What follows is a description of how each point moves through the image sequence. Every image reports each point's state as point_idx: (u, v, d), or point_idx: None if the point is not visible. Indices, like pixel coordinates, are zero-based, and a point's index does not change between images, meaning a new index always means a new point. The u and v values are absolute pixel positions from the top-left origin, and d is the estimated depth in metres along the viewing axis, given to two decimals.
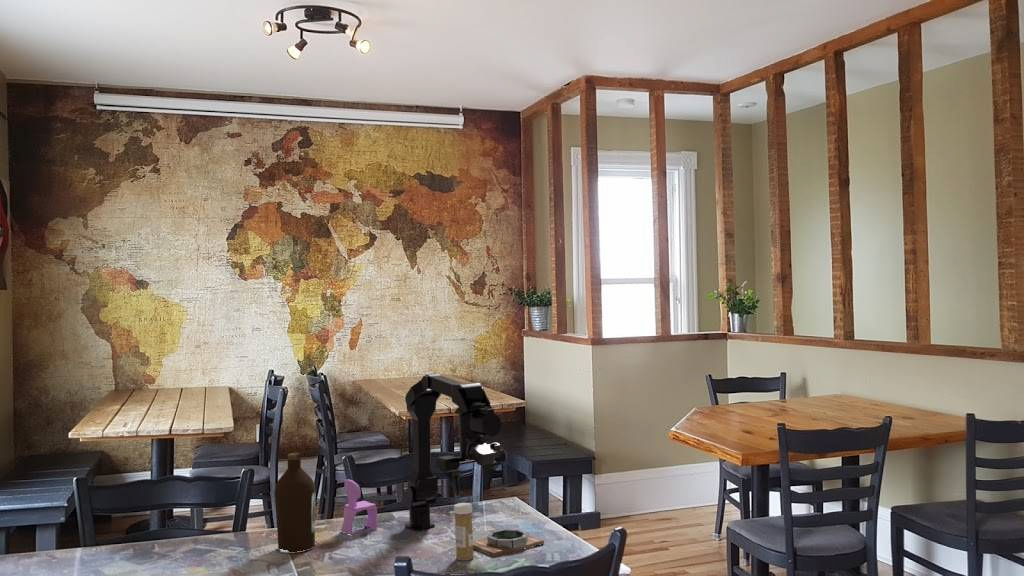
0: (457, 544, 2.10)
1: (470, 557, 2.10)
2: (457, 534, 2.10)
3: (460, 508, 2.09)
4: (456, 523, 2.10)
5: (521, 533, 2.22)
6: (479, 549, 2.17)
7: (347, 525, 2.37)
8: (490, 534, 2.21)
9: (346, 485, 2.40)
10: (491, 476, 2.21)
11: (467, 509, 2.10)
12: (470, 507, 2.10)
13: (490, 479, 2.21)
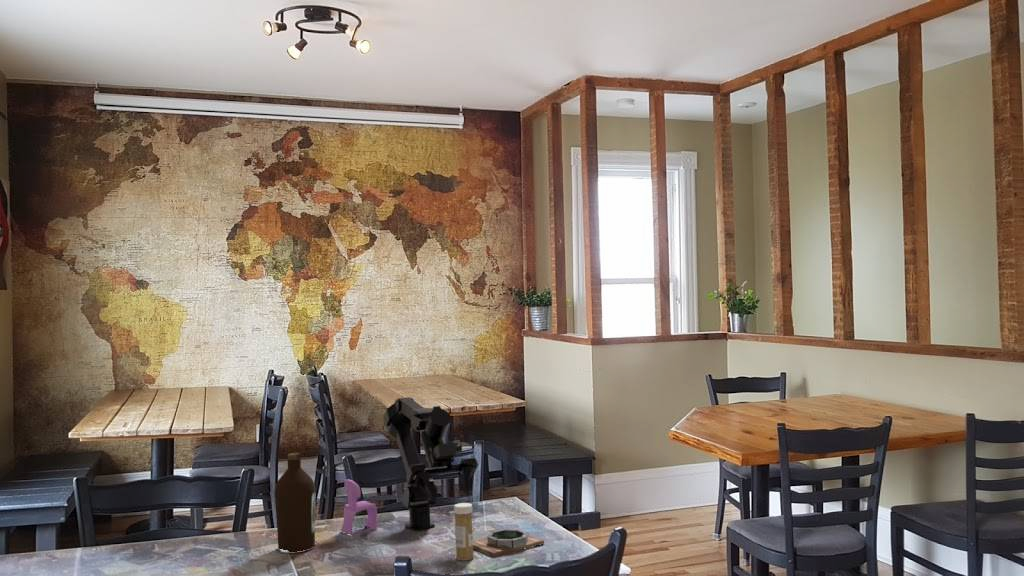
0: (457, 544, 2.10)
1: (470, 557, 2.10)
2: (457, 534, 2.10)
3: (460, 508, 2.09)
4: (456, 523, 2.10)
5: (521, 533, 2.22)
6: (479, 549, 2.17)
7: (347, 525, 2.37)
8: (490, 534, 2.21)
9: (346, 485, 2.39)
10: (467, 481, 2.23)
11: (467, 509, 2.10)
12: (470, 507, 2.10)
13: (467, 484, 2.22)
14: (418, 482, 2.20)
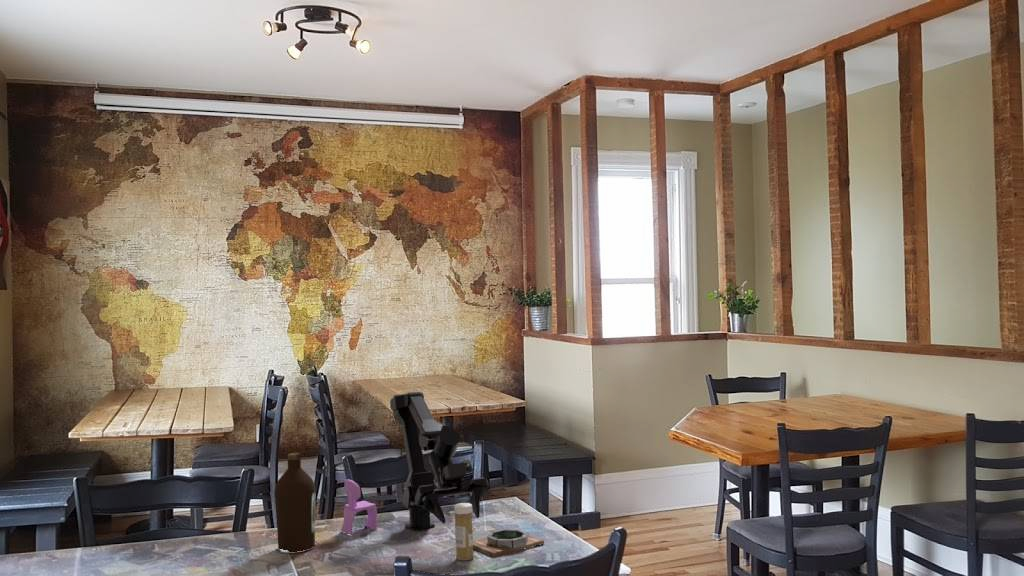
0: (457, 544, 2.10)
1: (470, 557, 2.10)
2: (457, 534, 2.10)
3: (460, 508, 2.09)
4: (456, 523, 2.10)
5: (521, 533, 2.22)
6: (479, 549, 2.17)
7: (347, 525, 2.37)
8: (490, 534, 2.21)
9: (346, 485, 2.39)
10: (477, 502, 2.17)
11: (467, 509, 2.10)
12: (470, 507, 2.10)
13: (477, 505, 2.16)
14: (427, 504, 2.14)
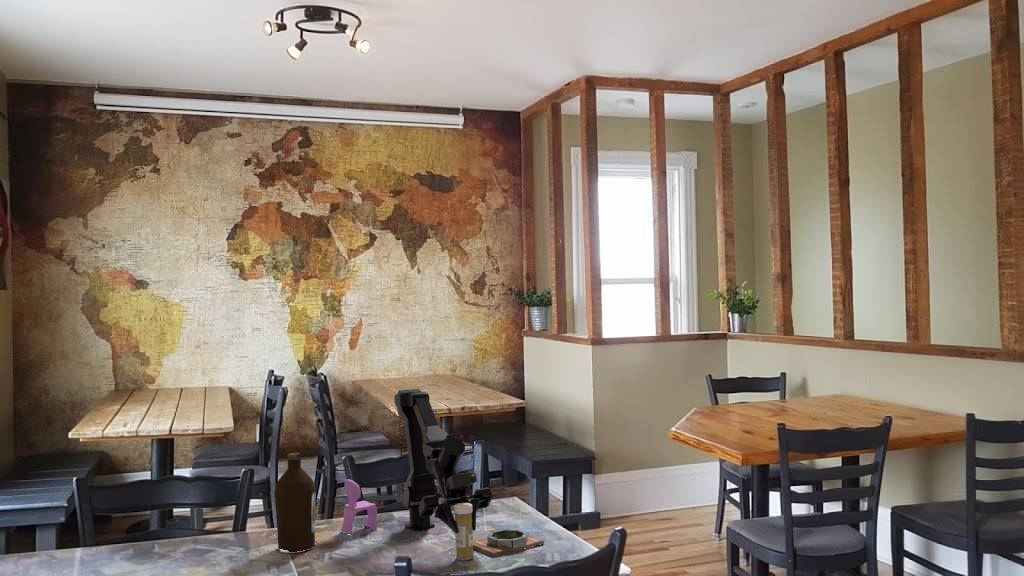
0: (457, 544, 2.10)
1: (470, 557, 2.10)
2: (457, 534, 2.10)
3: (460, 508, 2.09)
4: (456, 523, 2.10)
5: (521, 533, 2.22)
6: (479, 549, 2.17)
7: (347, 525, 2.37)
8: (490, 534, 2.21)
9: (346, 485, 2.40)
10: (474, 514, 2.13)
11: (467, 509, 2.10)
12: (470, 507, 2.10)
13: (474, 517, 2.13)
14: (440, 513, 2.13)
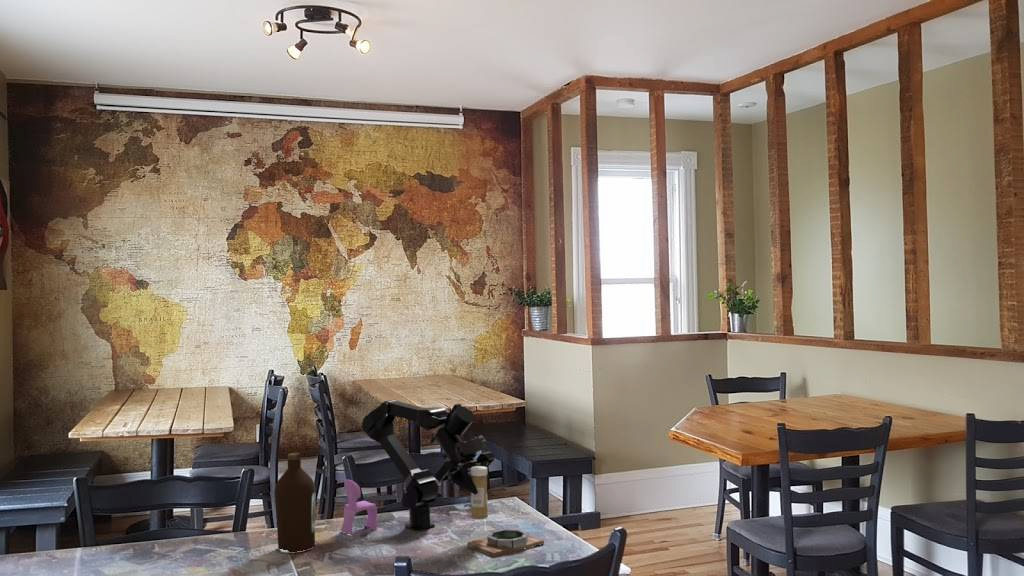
0: (475, 504, 2.25)
1: (486, 515, 2.26)
2: (476, 495, 2.24)
3: (479, 470, 2.24)
4: None
5: (521, 533, 2.22)
6: (479, 549, 2.17)
7: (347, 525, 2.37)
8: (490, 534, 2.21)
9: (346, 485, 2.39)
10: None
11: (485, 471, 2.25)
12: (486, 469, 2.26)
13: None
14: (456, 477, 2.25)
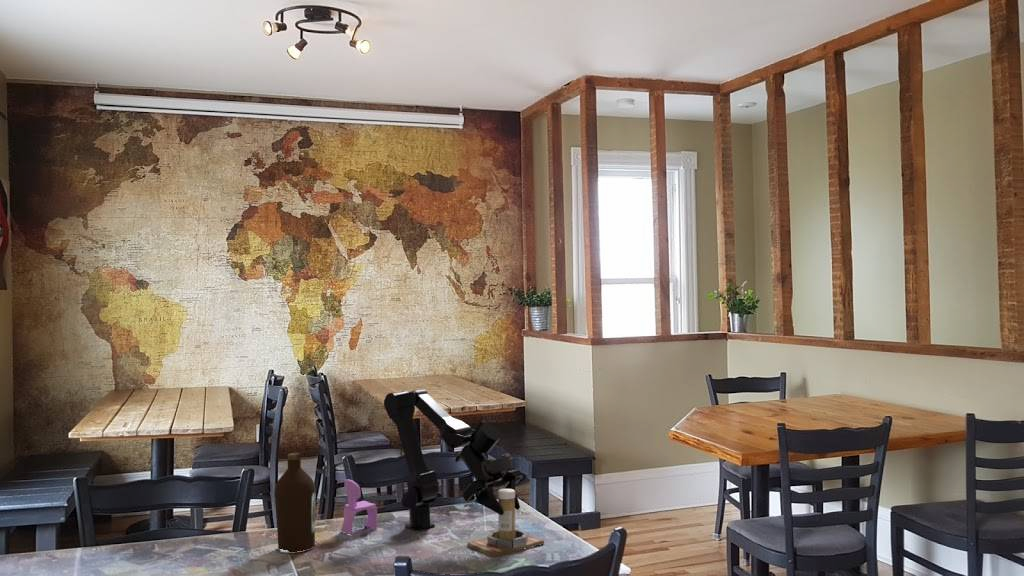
0: (503, 528, 2.19)
1: None
2: (504, 518, 2.19)
3: (507, 493, 2.18)
4: (502, 508, 2.19)
5: (521, 533, 2.22)
6: (479, 549, 2.17)
7: (347, 525, 2.37)
8: (490, 534, 2.21)
9: (346, 485, 2.40)
10: (515, 494, 2.24)
11: (513, 494, 2.19)
12: (514, 492, 2.20)
13: (516, 497, 2.23)
14: (481, 498, 2.19)
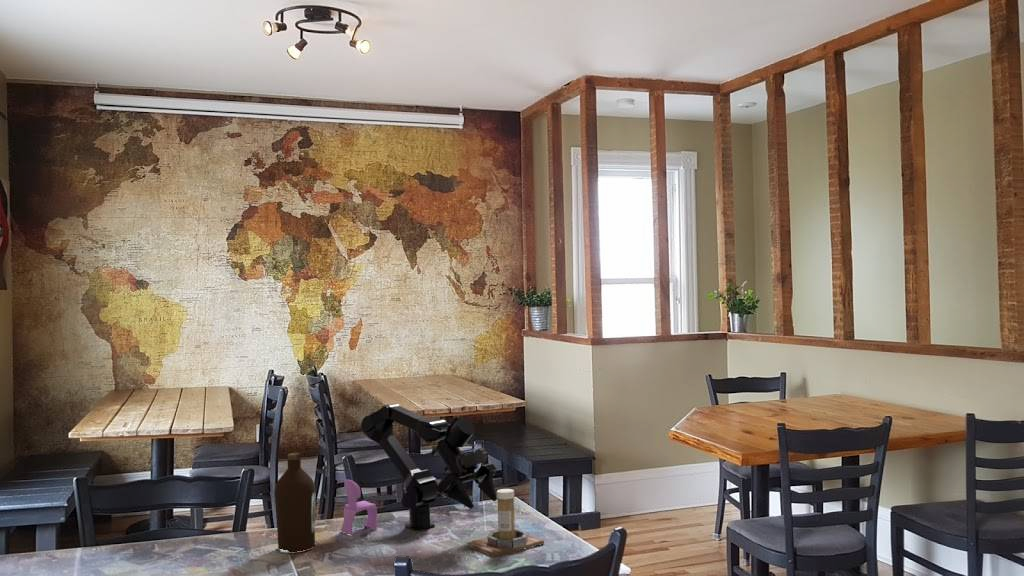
0: (503, 528, 2.19)
1: None
2: (503, 519, 2.19)
3: (506, 493, 2.19)
4: (501, 508, 2.19)
5: (521, 533, 2.22)
6: (479, 549, 2.17)
7: (347, 525, 2.37)
8: (490, 534, 2.21)
9: (346, 485, 2.39)
10: (492, 486, 2.31)
11: (512, 494, 2.19)
12: (513, 492, 2.20)
13: (493, 489, 2.30)
14: (451, 491, 2.24)
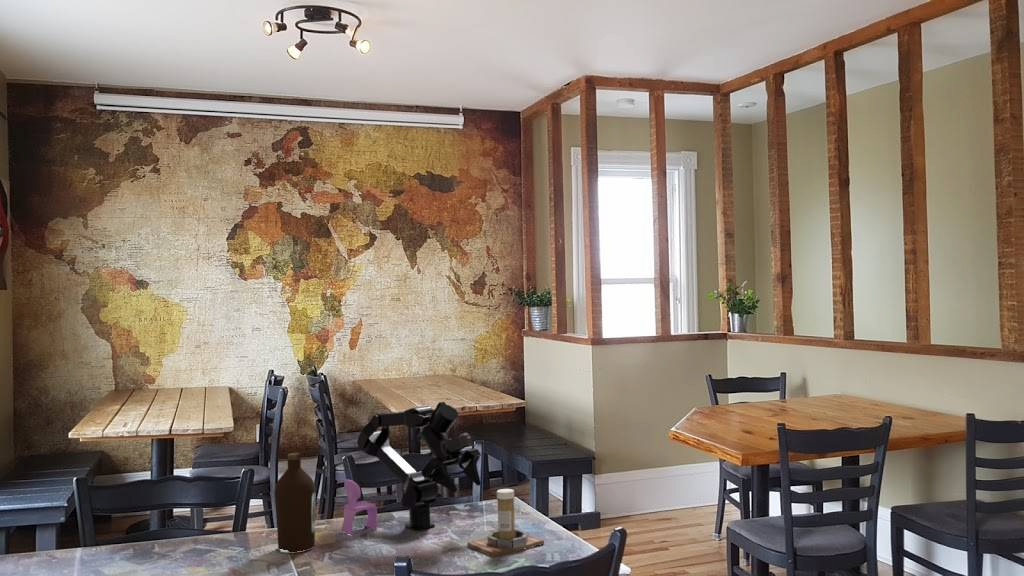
0: (503, 528, 2.19)
1: None
2: (503, 519, 2.19)
3: (506, 493, 2.19)
4: (501, 508, 2.19)
5: (521, 533, 2.22)
6: (479, 549, 2.17)
7: (347, 525, 2.37)
8: (490, 534, 2.21)
9: (346, 485, 2.40)
10: (476, 471, 2.34)
11: (512, 494, 2.19)
12: (513, 492, 2.20)
13: (477, 474, 2.33)
14: (435, 476, 2.27)
